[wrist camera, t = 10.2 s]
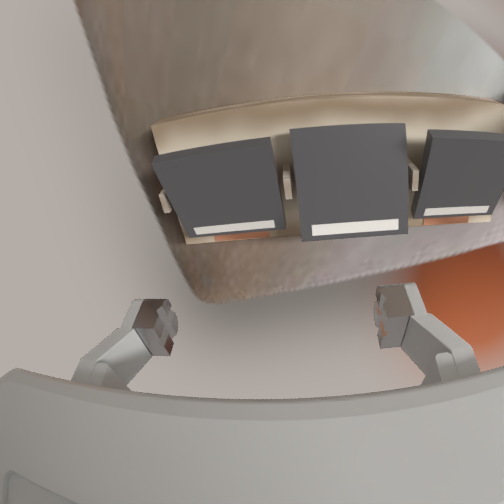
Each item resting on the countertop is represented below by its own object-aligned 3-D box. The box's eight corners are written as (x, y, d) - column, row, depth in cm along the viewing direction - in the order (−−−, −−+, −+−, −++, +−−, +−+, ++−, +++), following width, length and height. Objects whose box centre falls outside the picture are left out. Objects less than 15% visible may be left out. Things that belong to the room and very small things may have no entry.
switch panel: (161, 118, 31) (135, 136, 25) (490, 98, 24) (524, 113, 19) (193, 230, 38) (178, 263, 33) (479, 209, 32) (503, 238, 27)
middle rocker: (289, 128, 26) (289, 129, 25) (401, 122, 24) (405, 123, 23) (301, 236, 30) (301, 241, 29) (404, 229, 28) (408, 233, 27)
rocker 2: (427, 129, 22) (433, 138, 21) (515, 134, 20) (522, 143, 19) (410, 210, 30) (413, 219, 29) (487, 206, 28) (491, 215, 27)
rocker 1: (154, 155, 26) (150, 164, 25) (270, 136, 24) (270, 145, 23) (191, 229, 34) (189, 238, 33) (285, 220, 32) (285, 229, 31)
